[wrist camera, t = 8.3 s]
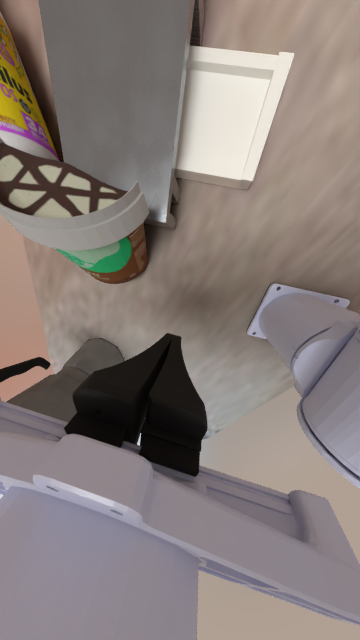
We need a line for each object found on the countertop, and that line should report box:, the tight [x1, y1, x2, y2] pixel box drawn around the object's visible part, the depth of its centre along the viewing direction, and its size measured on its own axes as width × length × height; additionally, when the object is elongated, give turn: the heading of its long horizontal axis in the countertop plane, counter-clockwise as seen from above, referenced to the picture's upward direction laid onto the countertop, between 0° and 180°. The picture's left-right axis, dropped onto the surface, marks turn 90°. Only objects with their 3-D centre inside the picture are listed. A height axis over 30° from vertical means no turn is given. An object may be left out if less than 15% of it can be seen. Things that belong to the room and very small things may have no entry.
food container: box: [0, 138, 149, 284], centre depth 13 cm, size 12×6×10 cm
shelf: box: [39, 0, 204, 230], centre depth 11 cm, size 10×16×4 cm, turn 169°
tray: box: [174, 46, 295, 190], centre depth 12 cm, size 12×6×2 cm, turn 79°
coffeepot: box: [0, 339, 124, 423], centre depth 21 cm, size 15×9×18 cm, turn 37°
